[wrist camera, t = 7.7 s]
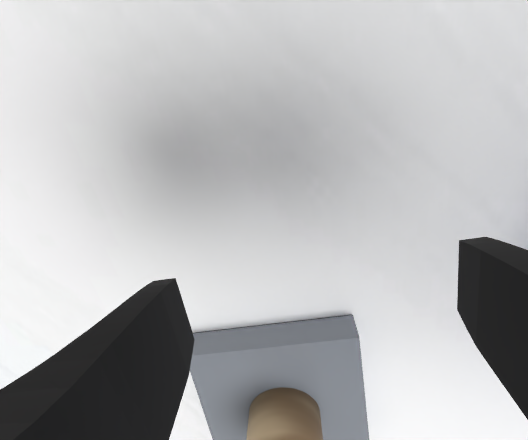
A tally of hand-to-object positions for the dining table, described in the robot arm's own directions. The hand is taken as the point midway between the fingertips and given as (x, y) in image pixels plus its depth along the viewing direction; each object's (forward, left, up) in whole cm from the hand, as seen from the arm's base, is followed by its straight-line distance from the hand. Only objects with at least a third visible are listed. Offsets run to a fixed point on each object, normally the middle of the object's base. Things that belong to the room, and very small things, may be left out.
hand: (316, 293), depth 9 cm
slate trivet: (+3, +14, -10) cm, 18 cm away
